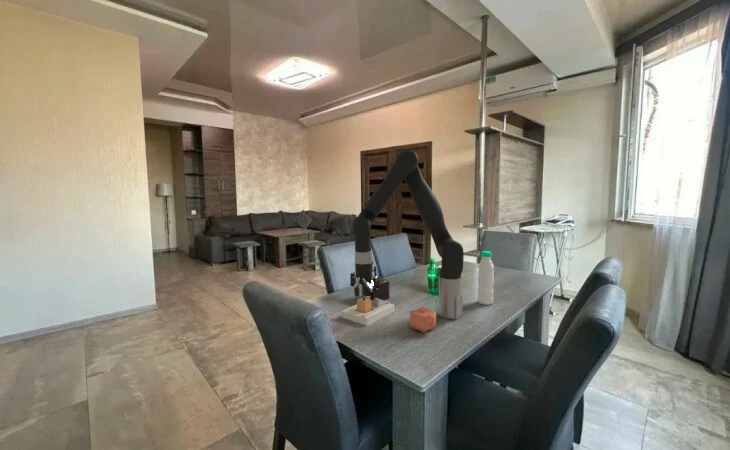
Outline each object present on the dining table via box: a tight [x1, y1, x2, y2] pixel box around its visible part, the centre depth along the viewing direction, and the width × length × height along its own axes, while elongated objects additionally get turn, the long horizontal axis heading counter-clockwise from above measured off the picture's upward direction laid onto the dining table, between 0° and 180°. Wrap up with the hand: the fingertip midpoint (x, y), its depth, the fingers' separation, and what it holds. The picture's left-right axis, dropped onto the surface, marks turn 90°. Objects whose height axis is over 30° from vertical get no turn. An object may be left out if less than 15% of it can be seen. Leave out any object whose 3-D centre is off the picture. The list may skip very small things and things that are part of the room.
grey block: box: [366, 296, 387, 308], centre depth 147 cm, size 7×7×4 cm
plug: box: [356, 296, 372, 314], centre depth 141 cm, size 4×4×8 cm
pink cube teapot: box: [409, 306, 437, 334], centre depth 128 cm, size 8×12×8 cm, turn 42°
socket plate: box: [341, 299, 396, 327], centre depth 143 cm, size 14×20×4 cm
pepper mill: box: [361, 260, 390, 301], centre depth 166 cm, size 16×11×18 cm
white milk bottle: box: [477, 250, 495, 306], centre depth 155 cm, size 7×7×25 cm
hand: (364, 298), depth 141 cm, fingers open, 8 cm apart
